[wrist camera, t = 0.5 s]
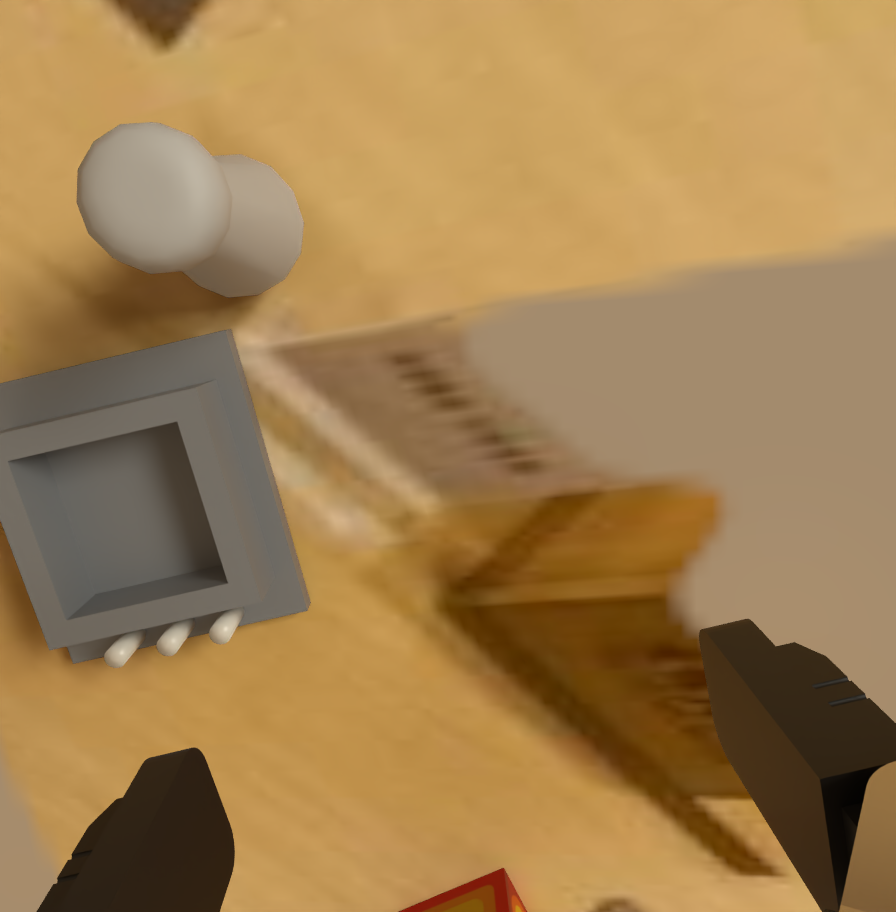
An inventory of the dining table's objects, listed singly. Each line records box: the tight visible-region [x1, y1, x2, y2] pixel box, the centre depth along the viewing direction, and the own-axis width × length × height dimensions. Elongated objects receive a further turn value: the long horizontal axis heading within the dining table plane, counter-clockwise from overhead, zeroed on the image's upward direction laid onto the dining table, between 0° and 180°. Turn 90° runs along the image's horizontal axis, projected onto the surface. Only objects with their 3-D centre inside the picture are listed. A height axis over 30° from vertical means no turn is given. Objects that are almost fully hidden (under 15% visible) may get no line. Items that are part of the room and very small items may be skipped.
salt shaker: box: [77, 122, 304, 298], centre depth 28 cm, size 6×6×13 cm
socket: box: [0, 329, 311, 668], centre depth 35 cm, size 14×12×4 cm
